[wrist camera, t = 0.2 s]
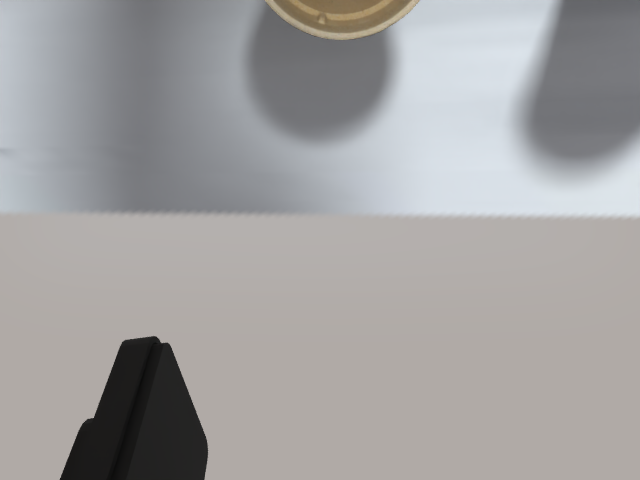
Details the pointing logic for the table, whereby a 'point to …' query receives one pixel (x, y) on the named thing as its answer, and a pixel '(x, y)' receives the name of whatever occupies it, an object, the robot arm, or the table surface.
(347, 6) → the flower pot
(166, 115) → the table surface
